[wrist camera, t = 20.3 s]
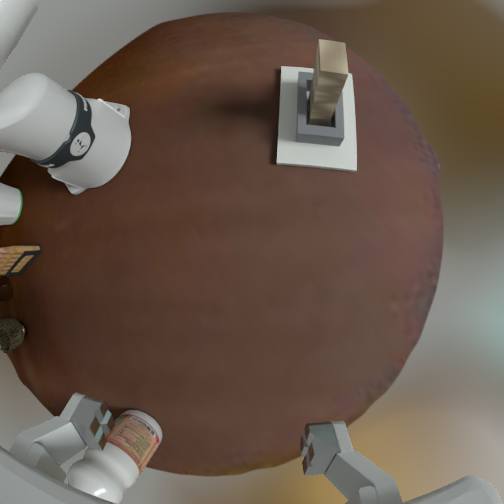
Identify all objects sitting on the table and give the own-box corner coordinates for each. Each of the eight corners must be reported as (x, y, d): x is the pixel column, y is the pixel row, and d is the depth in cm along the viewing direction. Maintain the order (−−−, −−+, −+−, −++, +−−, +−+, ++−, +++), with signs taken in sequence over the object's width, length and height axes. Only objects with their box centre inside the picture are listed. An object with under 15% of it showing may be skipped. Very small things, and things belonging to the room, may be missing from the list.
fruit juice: (165, 449, 43) (105, 546, 16) (124, 436, 44) (53, 517, 16) (162, 415, 43) (85, 517, 15) (118, 402, 44) (30, 482, 16)
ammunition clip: (39, 243, 45) (-3, 243, 33) (42, 251, 45) (-1, 252, 33) (17, 267, 46) (-22, 271, 34) (19, 275, 46) (-20, 279, 34)
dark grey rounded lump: (36, 330, 46) (11, 339, 38) (28, 350, 46) (6, 359, 38) (19, 306, 46) (-5, 312, 38) (13, 327, 47) (-10, 333, 39)
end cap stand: (276, 164, 41) (276, 155, 36) (281, 69, 40) (281, 54, 36) (355, 172, 39) (363, 164, 35) (350, 76, 39) (356, 62, 35)
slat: (308, 125, 39) (320, 70, 24) (308, 98, 39) (319, 39, 24) (327, 127, 39) (348, 74, 24) (327, 100, 39) (344, 43, 24)
